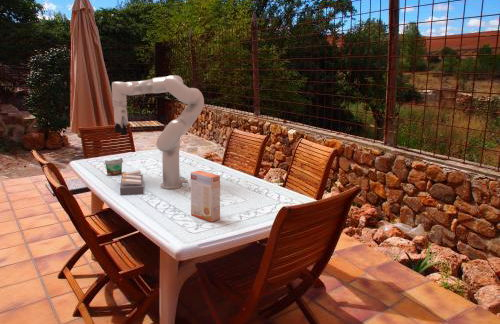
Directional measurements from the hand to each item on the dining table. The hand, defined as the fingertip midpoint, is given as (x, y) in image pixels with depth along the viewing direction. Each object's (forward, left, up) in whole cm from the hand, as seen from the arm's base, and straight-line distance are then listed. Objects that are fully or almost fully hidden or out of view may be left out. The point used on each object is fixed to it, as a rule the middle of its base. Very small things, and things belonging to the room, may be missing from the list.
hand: (121, 133), depth 229 cm
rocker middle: (-5, +10, -24) cm, 26 cm away
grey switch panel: (-5, +8, -30) cm, 31 cm away
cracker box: (-38, +67, -30) cm, 83 cm away
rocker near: (-5, +19, -24) cm, 31 cm away
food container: (+5, -22, -30) cm, 38 cm away
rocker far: (-5, +1, -24) cm, 24 cm away
